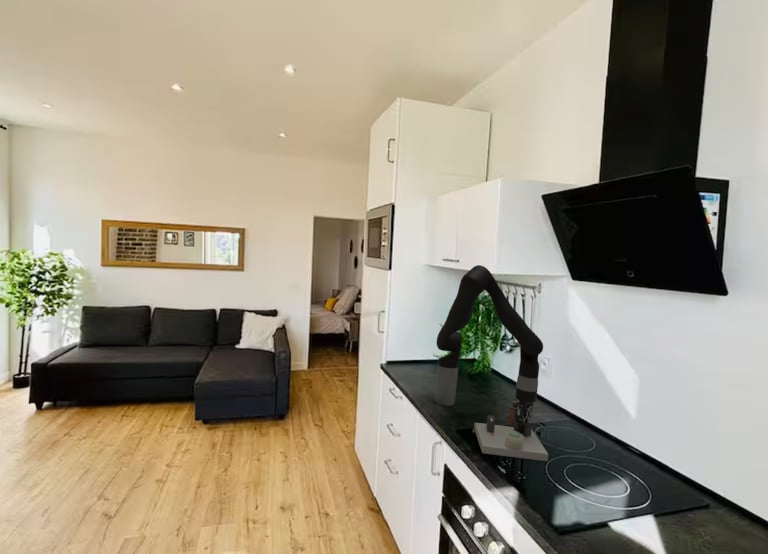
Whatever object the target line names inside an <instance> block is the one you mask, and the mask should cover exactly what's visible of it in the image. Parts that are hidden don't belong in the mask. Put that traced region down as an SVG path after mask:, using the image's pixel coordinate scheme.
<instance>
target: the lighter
mask: <svg viewBox="0 0 768 554" xmlns="http://www.w3.org/2000/svg"><path fill="white" fill-rule="evenodd" d="M519 403H520V401H519V400H518V399H516V400H515V401H514V400H513V401H512V405H509V414H508V421H507V425H508V426H509V427H514V422H515V420H516V415H515V410H516V409H518V404H519Z"/></svg>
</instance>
